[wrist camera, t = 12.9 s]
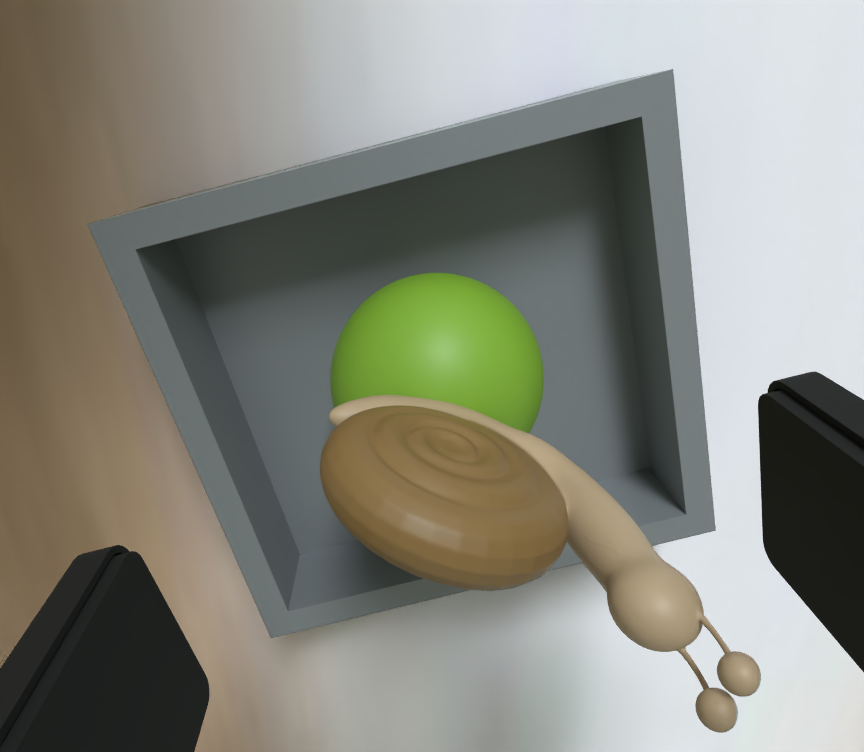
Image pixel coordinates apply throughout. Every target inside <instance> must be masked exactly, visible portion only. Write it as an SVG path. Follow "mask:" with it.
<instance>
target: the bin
mask: <svg viewBox="0 0 864 752" xmlns="http://www.w3.org/2000/svg"><path fill="white" fill-rule="evenodd" d="M88 227H89V229H90V231H91V233H92V236H93V238H94V240H95V243H96V245H97V247H98V249H99V252H100V254H101V256H102V258H103V261H104V263H105V265H106V267H107V270H108V272H109V274H110V276H111V279H112V281H113V283H114V285H115V288H116V290H117V292H118V294H119V297H120V299H121V301H122V303H123V306H124V308H125V310H126V312H127V315H128V317H129V319H130V321H131V324H132V326H133V328H134V330H135V333H136V335H137V337H138V339H139V342H140V344H141V346H142V348H143V351H144V353H145V355H146V357H147V360H148V362H149V364H150V367H151V369H152V371H153V373H154V376H155V378H156V380H157V382H158V385H159V387H160V389H161V391H162V394H163V396H164V398H165V400H166V403H167V405H168V407H169V409H170V412H171V414H172V416H173V418H174V421H175V423H176V425H177V427H178V430H179V432H180V434H181V436H182V439H183V441H184V443H185V445H186V448H187V450H188V452H189V454H190V457H191V459H192V461H193V463H194V466H195V468H196V470H197V472H198V475H199V477H200V479H201V482H202V484H203V486H204V488H205V491H206V493H207V495H208V497H209V500H210V502H211V504H212V506H213V509H214V511H215V513H216V515H217V518H218V520H219V522H220V524H221V527H222V529H223V531H224V533H225V536H226V538H227V540H228V542H229V545H230V547H231V549H232V551H233V554H234V556H235V558H236V560H237V563H238V565H239V567H240V569H241V572H242V574H243V576H244V578H245V581H246V583H247V585H248V587H249V590H250V592H251V594H252V597H253V599H254V601H255V603H256V606H257V608H258V610H259V612H260V615H261V617H262V619H263V621H264V624H265V626H266V628H267V630H268V633H269V635H270V637H271V638H273V637H278V636H282V635H286V634H290V633H294V632H298V631H302V630H306V629H311V628H315V627H319V626H323V625H327V624H331V623H335V622H340V621H344V620H348V619H352V618H356V617H360V616H364V615H368V614H373V613H377V612H381V611H385V610H389V609H393V608H397V607H402V606H406V605H410V604H414V603H418V602H422V601H426V600H430V599H435V598H439V597H443V596H447V595H451V594H455V593H459V592H464V591H468V590H469V589H462V588H457V587H452V586H447V585H442V584H439V583H436V582H433V581H430V580H427V579H424V578H421V577H418V576H415V575H413V574H411V573H409V572H407V571H405V570H403V569H401V568H398V567H396V566H394V565H392V564H391V563H389V562H387V561H386V560H384V559H383V558H381V557H380V556H378V555H376V554H375V553H373V552H372V551H370V550H369V549H368V548H367V547H365V546H364V545H363V544H362V543H361V542H360V541H358V540H357V539H356V538H355V537H354V536H353V535H352V534H351V533H350V532H349V531H348V530H347V529H346V528H345V527H344V525H343V524H342V523H341V522H340V520H339V519H338V518H337V517H336V515H335V513H334V512H333V510H332V508H331V506H330V504H329V502H328V501H327V498H326V496H325V494H324V491H323V487H322V483H321V478H320V461H321V453H322V449H323V447H324V445H325V443H326V441H327V439H328V438H329V436H330V434H331V432H332V431H333V430H334V429H335V428H336V427H335V426H334V425H333V424H332V423H331V422H330V420H329V413H330V412H331V410H332V409H334V405H333V401H332V395H331V386H330V373H331V364H332V358H333V354H334V350H335V347H336V344H337V341H338V339H339V336H340V334H341V332H342V330H343V328H344V326H345V325H346V323H347V321H348V320H349V318H350V317H351V316H352V314H353V313H354V312H355V311H356V309H357V308H358V307H359V306H360V305H361V304H362V303H363V302H364V301H365V300H366V299H368V298H369V297H370V296H371V295H373V294H374V293H375V292H377V291H378V290H380V289H381V288H383V287H385V286H386V285H388V284H390V283H392V282H395V281H397V280H400V279H402V278H406V277H409V276H413V275H418V274H424V273H450V274H457V275H461V276H465V277H469V278H472V279H475V280H477V281H480V282H482V283H484V284H486V285H488V286H490V287H491V288H493V289H495V290H496V291H498V292H499V293H500V294H502V295H503V296H504V297H506V298H507V299H508V300H509V301H510V302H511V303H512V304H513V305H514V306H515V307H516V308H517V309H518V310H519V312H520V313H521V314H522V315H523V317H524V318H525V320H526V321H527V323H528V324H529V326H530V328H531V330H532V331H533V334H534V336H535V338H536V340H537V343H538V346H539V349H540V353H541V357H542V362H543V370H544V389H543V397H542V402H541V406H540V410H539V413H538V416H537V419H536V421H535V423H534V426H533V428H532V430H531V431H530V433H529V434H531V435H533V436H536V437H538V438H540V439H542V440H543V441H545V442H547V443H548V444H550V445H552V446H553V447H555V448H556V449H557V450H559V451H560V452H561V453H563V454H564V455H565V456H566V457H567V458H568V459H570V460H571V461H572V462H573V463H575V464H576V465H577V466H579V467H580V468H581V469H582V470H584V471H585V472H586V473H587V474H588V475H589V476H590V477H592V478H593V479H594V480H595V481H596V482H597V483H598V484H599V485H600V486H601V487H603V488H604V489H605V490H606V491H607V492H608V493H609V494H610V495H611V496H612V497H613V498H614V499H615V500H616V501H617V502H618V503H619V504H620V505H621V507H622V508H623V509H624V510H625V511H626V512H627V513H628V514H629V515H630V517H631V518H632V519H633V520H634V522H635V523H636V524H637V525H638V527H639V528H640V529H641V531H642V532H643V534H644V535H645V537H646V538H647V540H648V541H649V543H650V544H651V546H654V545H658V544H662V543H666V542H670V541H674V540H678V539H683V538H687V537H691V536H695V535H699V534H703V533H707V532H712V531H716V530H715V519H714V509H713V498H712V487H711V476H710V465H709V454H708V444H707V433H706V422H705V411H704V400H703V389H702V378H701V368H700V357H699V346H698V335H697V324H696V313H695V302H694V292H693V281H692V270H691V259H690V248H689V237H688V226H687V216H686V205H685V194H684V183H683V172H682V161H681V150H680V140H679V129H678V118H677V107H676V96H675V85H674V74H673V69H672V70H667V71H662V72H658V73H653V74H648V75H644V76H639V77H634V78H630V79H625V80H620V81H616V82H612V83H609V84H605V85H601V86H597V87H594V88H590V89H586V90H582V91H578V92H575V93H571V94H567V95H563V96H560V97H556V98H552V99H548V100H544V101H541V102H537V103H533V104H529V105H526V106H522V107H518V108H514V109H510V110H507V111H503V112H499V113H495V114H492V115H488V116H484V117H480V118H476V119H473V120H469V121H465V122H461V123H458V124H454V125H450V126H446V127H442V128H439V129H435V130H431V131H427V132H424V133H420V134H416V135H412V136H408V137H405V138H401V139H397V140H393V141H390V142H386V143H382V144H378V145H374V146H371V147H367V148H363V149H359V150H356V151H352V152H348V153H344V154H340V155H337V156H333V157H329V158H325V159H322V160H318V161H314V162H310V163H306V164H303V165H299V166H295V167H291V168H288V169H284V170H280V171H276V172H272V173H269V174H265V175H261V176H257V177H254V178H250V179H246V180H242V181H238V182H235V183H231V184H227V185H223V186H220V187H216V188H212V189H208V190H204V191H201V192H197V193H193V194H189V195H186V196H182V197H178V198H174V199H170V200H167V201H163V202H159V203H155V204H152V205H148V206H144V207H141V208H137V209H134V210H131V211H128V212H125V213H121V214H118V215H115V216H112V217H109V218H105V219H102V220H99V221H96V222H93V223H89V224H88ZM579 563H583V562H582V561H581V560H580V559H579V558H578V556H577V555H576V554H575V553H574V551H573V550H572V549H571V547H570V546H569V545H568V543H567V542H566V545H565V547H564V549H563V551H562V554H561V556H560V557H559V559H558V560H557V561H556V562H555V564H554V565H553V566H552V567H551V568H550V569H549V570H548V571H550V570H554V569H559V568H563V567H567V566H571V565H575V564H579Z"/></svg>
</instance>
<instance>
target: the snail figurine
mask: <svg viewBox="0 0 864 752" xmlns="http://www.w3.org/2000/svg"><path fill="white" fill-rule="evenodd" d="M330 386H331V395H332V401H333V405H334V409H332V410H331V412H330V413H329V420H330V422H331V423H332V424H333V425H334V426H335V427H336V428H335V429H334V430H333V431H332V432H331V434H330V436H329V438H328V439H327V441H326V443H325V445H324V447H323V449H322V453H321V461H320V478H321V483H322V487H323V491H324V494H325V496H326V498H327V501H328V502H329V504H330V506H331V508H332V510H333V512H334V513H335V515H336V517H337V518H338V519H339V520H340V522H341V523H342V524H343V525H344V527H345V528H346V529H347V530H348V531H349V532H350V533H351V534H352V535H353V536H354V537H355V538H356V539H357V540H358V541H360V542H361V543H362V544H363V545H364V546H365V547H367V548H368V549H369V550H370V551H372V552H373V553H375V554H376V555H378V556H380V557H381V558H383V559H384V560H386V561H387V562H389V563H391V564H392V565H394V566H396V567H398V568H401V569H403V570H405V571H407V572H409V573H411V574H413V575H415V576H418V577H421V578H424V579H427V580H430V581H433V582H436V583H439V584H442V585H447V586H452V587H457V588H462V589H469V590H487V591H493V590H501V589H509V588H514V587H517V586H519V585H522V584H525V583H527V582H530V581H532V580H534V579H537V578H539V577H541V576H542V575H543V574H544V573H545V572H547V571H548V570H549V569H550V568H551V567H552V566H553V565H554V564H555V562H556V561H557V560H558V559H559V557H560V556H561V554H562V551H563V549H564V547H565V545H566V542H567V543H568V545H569V546H570V547H571V549H572V550H573V551H574V553H575V554H576V555H577V556H578V558H579V559H580V560H581V561H582V562H583V564H584V565H585V566H586V567H587V568H588V570H589V571H590V572H591V573H592V574H593V576H594V577H595V578H596V579H597V580H598V582H599V583H600V584H601V585H602V586H603V588H604V589H605V591H606V592H607V600H608V606H609V610H610V613H611V615H612V618H613V620H614V621H615V623H616V625H617V626H618V627H619V629H620V630H621V631H622V632H623V633H624V634H625V635H626V636H627V637H628V638H630V639H631V640H632V641H634V642H635V643H637V644H638V645H640V646H642V647H644V648H647V649H650V650H654V651H660V652H670V651H675V650H676V651H678V652H679V653H680V654H681V655H682V656H683V657H684V658H685V660H686V661H687V662H688V664H689V665H690V667H691V668H692V670H693V671H694V673H695V674H696V676H697V677H698V679H699V681H700V683H701V685H702V687H703V689H704V690H703V691H702V692H701V693H700V694H699V695H698V697H697V700H696V712H697V715H698V717H699V719H700V721H701V722H702V723H703V724H704V725H705V726H706V727H707V728H709V729H710V730H712V731H715V732H727V731H729V730H730V729H732V728H733V727H734V725H735V723H736V721H737V714H738V711H737V706H736V703H735V701H734V699H733V698H732V697H731V696H730V694H728V693H727V692H726V691H724V690H722V689H719V688H709V686H708V685H707V683H706V681H705V679H704V677H703V676H702V674H701V672H700V671H699V669H698V667H697V666H696V664H695V663H694V661H693V660H692V658H691V657H690V655H689V654H688V653H687V652H686V650H685V647H686V646H687V645H689V644H690V643H692V642H693V641H694V640H695V639H696V638H697V636H698V635H699V633H700V631H701V629H702V625H704V626H705V627H706V628H707V629H708V630H709V631H710V632H711V634H712V635H713V636H714V638H715V639H716V640H717V642H718V643H719V645H720V646H721V648H722V649H723V651H724V653H725V655H724V656H723V657H722V658H721V659H720V660H719V663H718V666H717V674H718V678H719V680H720V682H721V684H722V685H723V686H724V688H725V689H726V690H728V691H729V692H731V693H732V694H734V695H737V696H750V695H752V694H753V693H755V692H756V691H757V689H758V687H759V685H760V680H761V674H760V669H759V667H758V665H757V663H756V662H755V661H754V659H753V658H751V657H750V656H749V655H747V654H745V653H742V652H730V650H729V648H728V647H727V645H726V644H725V643H724V641H723V640H722V638H721V637H720V636H719V634H718V633H717V631H716V630H715V629H714V627H713V626H712V625H711V624H710V622H709V621H708V620H707V618H706V617H705V616H704V612H703V606H702V602H701V599H700V597H699V595H698V592H697V591H696V589H695V587H694V586H693V585H692V583H691V582H690V581H689V580H688V579H687V578H686V577H685V576H684V575H683V574H682V573H680V572H679V571H678V570H676V569H675V568H674V567H672V566H671V565H669V564H668V563H667V562H665V561H664V560H663V559H662V558H661V557H660V556H659V555H658V554H657V553H656V552H655V550H654V549H653V547H652V546H651V544H650V543H649V541H648V540H647V538H646V537H645V535H644V534H643V532H642V531H641V529H640V528H639V527H638V525H637V524H636V523H635V522H634V520H633V519H632V518H631V517H630V515H629V514H628V513H627V512H626V511H625V510H624V509H623V508H622V507H621V505H620V504H619V503H618V502H617V501H616V500H615V499H614V498H613V497H612V496H611V495H610V494H609V493H608V492H607V491H606V490H605V489H604V488H603V487H601V486H600V485H599V484H598V483H597V482H596V481H595V480H594V479H593V478H592V477H590V476H589V475H588V474H587V473H586V472H585V471H584V470H582V469H581V468H580V467H579V466H577V465H576V464H575V463H573V462H572V461H571V460H570V459H568V458H567V457H566V456H565V455H564V454H563V453H561V452H560V451H559V450H557V449H556V448H555V447H553V446H552V445H550V444H548V443H547V442H545V441H543V440H542V439H540V438H538V437H536V436H533V435H531V434H529V433H530V431H531V430H532V428H533V426H534V423H535V421H536V419H537V416H538V413H539V410H540V406H541V402H542V397H543V389H544V370H543V362H542V357H541V353H540V349H539V346H538V343H537V340H536V338H535V336H534V334H533V331H532V330H531V328H530V326H529V324H528V323H527V321H526V320H525V318H524V317H523V315H522V314H521V313H520V312H519V310H518V309H517V308H516V307H515V306H514V305H513V304H512V303H511V302H510V301H509V300H508V299H507V298H506V297H504V296H503V295H502V294H500V293H499V292H498V291H496V290H495V289H493V288H491V287H490V286H488V285H486V284H484V283H482V282H480V281H477V280H475V279H472V278H469V277H465V276H461V275H457V274H450V273H424V274H418V275H413V276H409V277H406V278H402V279H400V280H397V281H395V282H392V283H390V284H388V285H386V286H385V287H383V288H381V289H380V290H378V291H377V292H375V293H374V294H373V295H371V296H370V297H369V298H368V299H366V300H365V301H364V302H363V303H362V304H361V305H360V306H359V307H358V308H357V309H356V311H355V312H354V313H353V314H352V316H351V317H350V318H349V320H348V321H347V323H346V325H345V326H344V328H343V330H342V332H341V334H340V336H339V339H338V341H337V344H336V347H335V350H334V354H333V358H332V364H331V373H330Z"/></svg>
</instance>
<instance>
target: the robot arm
mask: <svg viewBox="0 0 864 752" xmlns="http://www.w3.org/2000/svg"><path fill="white" fill-rule="evenodd" d="M758 415H759V443H760V471H761V499H762V527H763V543H764V548H765V551H766V553H767V556H768V558H769V560H770V562H771V563H772V565H773V566H774V567H775V569H776V570H777V571H778V572H779V573H780V574H781V576H782V577H783V578H784V579H785V580H786V581H787V583H788V584H789V585H790V586H791V587H792V589H793V590H794V591H795V592H796V593H797V594H798V596H799V597H800V598H801V599H802V600H803V601H804V603H805V604H806V605H807V606H808V607H809V608H810V610H811V611H812V612H813V613H814V614H815V616H816V617H817V618H818V619H819V620H820V621H821V623H822V624H823V625H824V626H825V627H826V628H827V630H828V631H829V632H830V633H831V634H832V636H833V637H834V638H835V639H836V640H837V641H838V643H839V644H840V645H841V646H842V647H843V648H844V650H845V651H846V652H847V653H848V654H849V656H850V657H851V658H852V659H853V660H854V661H855V663H856V664H857V665H858V666H859V667H860V668H861V670H862V671H863V672H864V400H863V399H861V398H860V397H858V396H856V395H855V394H853V393H851V392H850V391H848V390H846V389H845V388H843V387H842V386H840V385H838V384H837V383H835V382H833V381H832V380H830V379H828V378H827V377H825V376H824V375H822V374H820V373H817V372H809V373H805V374H801V375H797V376H793V377H789V378H785V379H781V380H777V381H773V382H772V383H771V384H770V386H769V388H768V393H766V394H762V395H761V396H760V398H759V401H758ZM208 701H209V684H208V679H207V677H206V675H205V673H204V671H203V669H202V667H201V665H200V664H199V662H198V660H197V658H196V656H195V654H194V652H193V651H192V649H191V647H190V645H189V643H188V641H187V640H186V638H185V636H184V634H183V632H182V630H181V628H180V627H179V625H178V623H177V621H176V619H175V617H174V616H173V614H172V612H171V610H170V608H169V606H168V604H167V603H166V601H165V599H164V597H163V595H162V593H161V592H160V590H159V588H158V586H157V584H156V582H155V580H154V579H153V577H152V575H151V573H150V571H149V569H148V568H147V566H146V564H145V562H144V560H143V559H142V557H141V556H140V554H138V553H137V552H133V551H132V552H129V551H128V549H126V548H125V547H124V546H120V545H116V546H112V547H108V548H104V549H100V550H96V551H92V552H88V553H84V554H81V555H79V556H77V557H76V558H75V559H74V560H73V562H72V563H71V565H70V566H69V568H68V569H67V571H66V572H65V574H64V575H63V577H62V578H61V580H60V581H59V583H58V584H57V586H56V587H55V589H54V590H53V592H52V593H51V594H50V596H49V597H48V599H47V600H46V602H45V603H44V605H43V606H42V608H41V609H40V611H39V612H38V614H37V615H36V617H35V618H34V620H33V621H32V623H31V624H30V626H29V627H28V628H27V630H26V631H25V633H24V634H23V636H22V637H21V639H20V640H19V642H18V643H17V645H16V646H15V648H14V649H13V651H12V652H11V654H10V655H9V657H8V658H7V660H6V661H5V663H4V664H3V665H2V667H1V668H0V752H194V751H195V747H196V744H197V740H198V737H199V733H200V730H201V726H202V723H203V720H204V716H205V713H206V709H207V706H208Z"/></svg>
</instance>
